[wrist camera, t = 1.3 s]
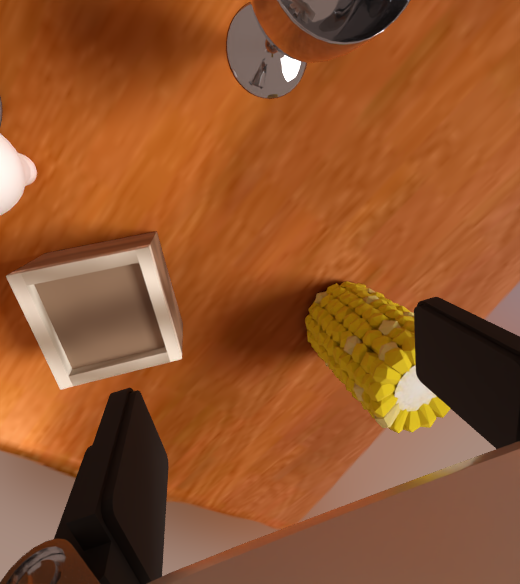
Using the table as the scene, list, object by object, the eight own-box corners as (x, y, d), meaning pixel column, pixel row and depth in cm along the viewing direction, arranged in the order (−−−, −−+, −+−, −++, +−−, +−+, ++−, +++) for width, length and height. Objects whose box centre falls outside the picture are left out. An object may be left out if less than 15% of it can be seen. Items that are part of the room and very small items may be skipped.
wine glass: (328, 70, 29) (454, -21, 15) (255, 122, 29) (316, 79, 16) (282, -31, 26) (390, -258, 12) (202, 29, 26) (218, -128, 13)
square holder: (45, 253, 29) (5, 275, 23) (156, 231, 31) (148, 247, 24) (84, 347, 33) (60, 389, 27) (182, 324, 35) (181, 359, 28)
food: (316, 267, 37) (380, 295, 41) (279, 363, 37) (346, 382, 41) (423, 283, 23) (507, 324, 27) (362, 437, 23) (454, 457, 27)
